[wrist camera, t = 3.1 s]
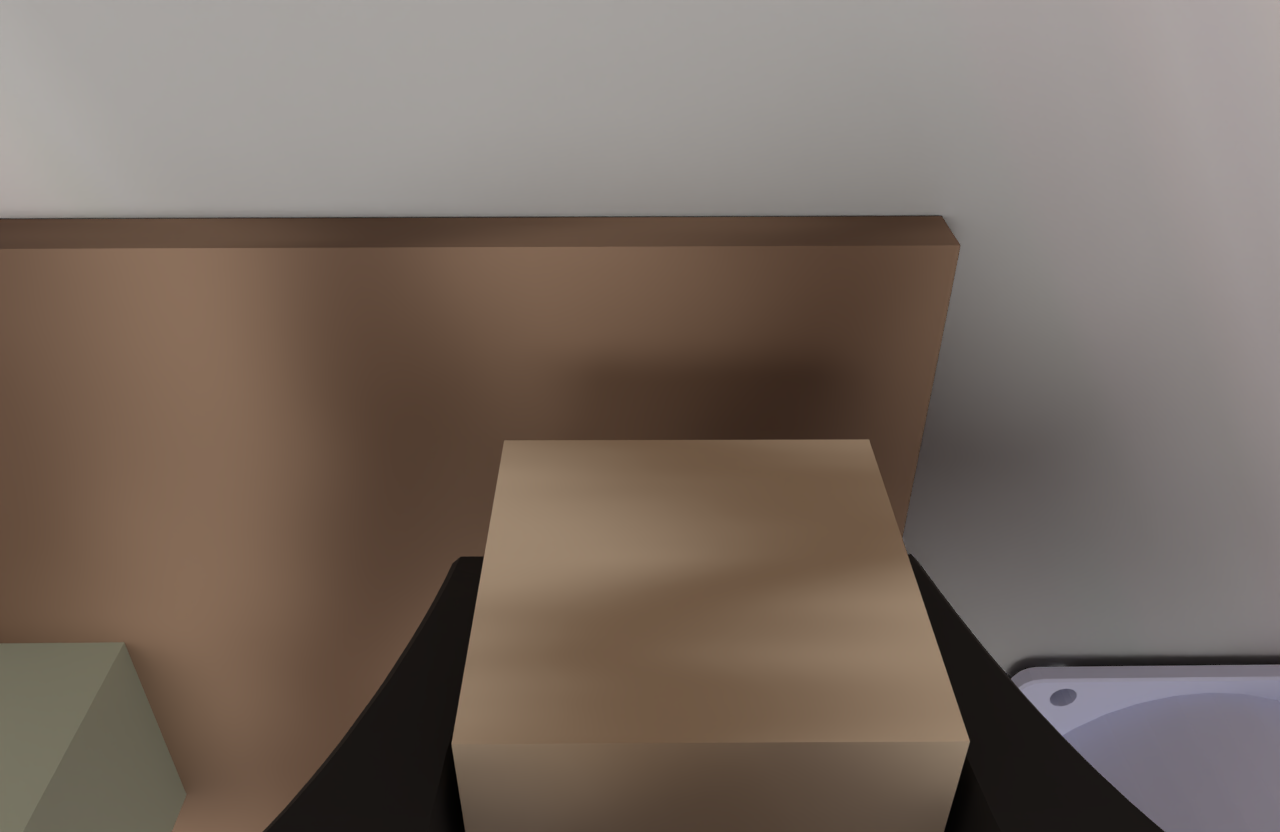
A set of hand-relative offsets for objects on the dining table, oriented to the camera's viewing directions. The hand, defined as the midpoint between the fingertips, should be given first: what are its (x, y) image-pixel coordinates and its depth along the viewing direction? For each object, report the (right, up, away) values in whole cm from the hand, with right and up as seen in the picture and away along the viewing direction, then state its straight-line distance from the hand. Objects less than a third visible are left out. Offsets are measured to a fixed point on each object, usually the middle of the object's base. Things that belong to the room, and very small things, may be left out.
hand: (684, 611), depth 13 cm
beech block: (0, 0, +1) cm, 1 cm away
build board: (-6, -3, +7) cm, 10 cm away
